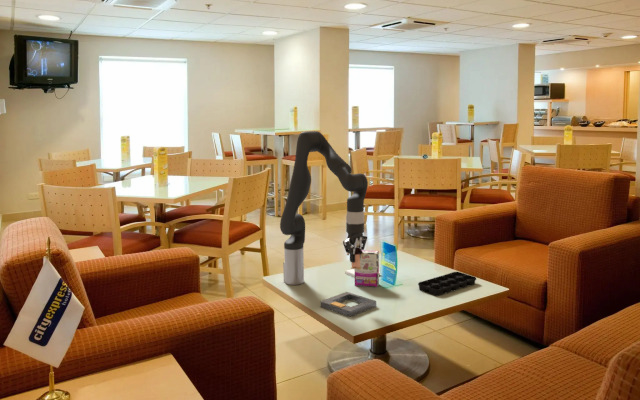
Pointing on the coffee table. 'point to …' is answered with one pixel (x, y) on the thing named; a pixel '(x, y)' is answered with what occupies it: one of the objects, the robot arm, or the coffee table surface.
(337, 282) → the coffee table surface
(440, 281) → the egg carton
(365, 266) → the candy bar box
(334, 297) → the holder board
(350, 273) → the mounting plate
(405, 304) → the coffee table surface
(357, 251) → the grandmother figurine
